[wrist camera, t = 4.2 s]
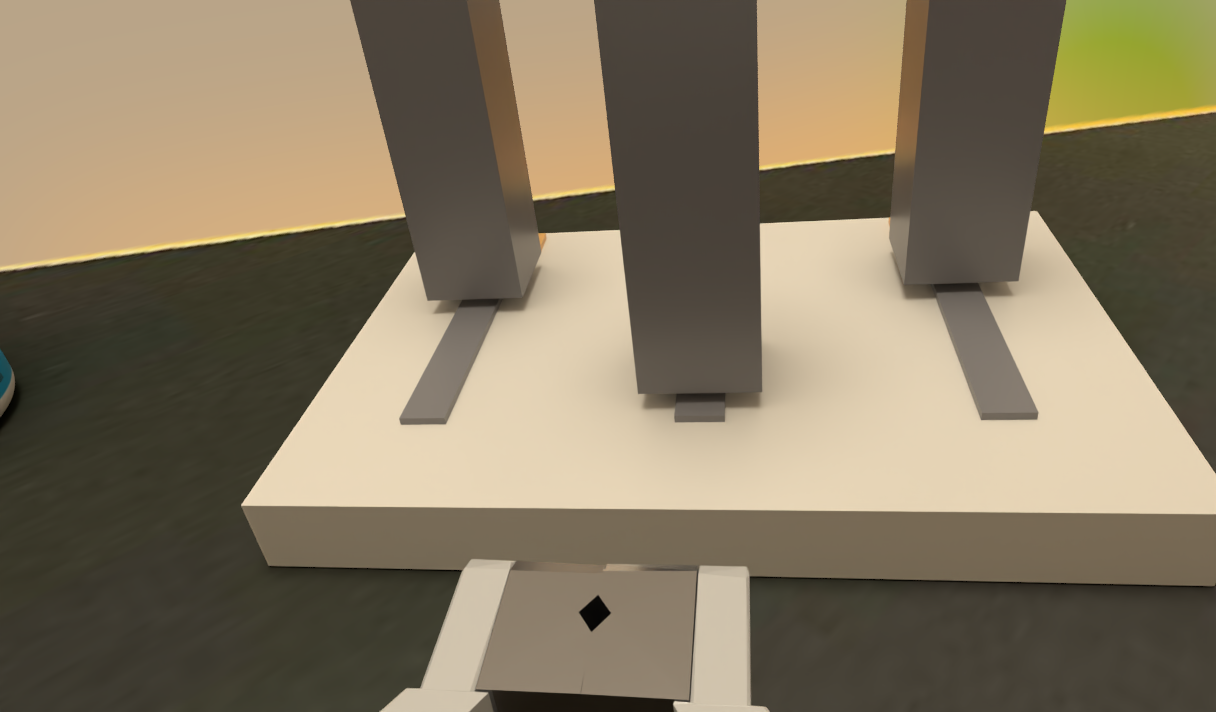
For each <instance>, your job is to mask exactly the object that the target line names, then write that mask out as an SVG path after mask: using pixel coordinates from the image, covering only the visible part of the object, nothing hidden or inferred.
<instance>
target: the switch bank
mask: <svg viewBox="0 0 1216 712" xmlns="http://www.w3.org/2000/svg"><path fill="white" fill-rule="evenodd" d="M889 230H890V217H889V218H874V219H852V220H830V221H808V222H786V223H764V224H760V267H761V336H762V392H753V393H679V394H638V389H637V380H636V371H635V362H634V353H633V344H632V335H631V326H630V318H629V309H628V300H627V291H626V282H625V273H624V264H623V255H622V246H621V237H620V230H611V231H589V232H567V233H538V235H539V241H540V247H541V255H540V257H539V259H538V262H537V264H536V267H535V269H534V271H533V274H532V276H531V278H530V281H529V283H528V286H527V288H526V290H525V293H524V295H523V298H498V299H467V300H437V301H427V297H426V293H425V289H424V285H423V281H422V277H421V273H420V270H419V266H418V262H417V258H416V254H415V252H414V254H413V255H412V257H411V258H410V260H409V261H408V263H407V264H406V265H405V267H404V268H403V270H402V271H401V273H400V274H399V276H398V277H397V279H396V280H395V282H394V283H393V284H392V286H391V287H390V289H389V290H388V292H387V293H386V295H385V296H384V298H383V299H382V300H381V302H380V303H379V305H378V306H377V308H376V309H375V311H374V312H373V314H372V315H371V317H370V318H369V319H368V321H367V322H366V324H365V325H364V327H363V328H362V330H361V331H360V333H359V334H358V335H357V337H356V338H355V340H354V341H353V343H352V344H351V346H350V347H349V349H348V350H347V352H346V353H345V354H344V356H343V357H342V359H341V360H340V362H339V363H338V365H337V366H336V368H335V369H334V371H333V372H332V373H331V375H330V376H329V378H328V379H327V381H326V382H325V384H324V385H323V387H322V388H321V389H320V391H319V392H318V394H317V395H316V397H315V398H314V400H313V401H312V403H311V404H310V406H309V407H308V408H307V410H306V411H305V413H304V414H303V416H302V417H301V419H300V420H299V422H298V423H297V424H296V426H295V427H294V429H293V430H292V432H291V433H290V435H289V436H288V438H287V439H286V441H285V442H284V443H283V445H282V446H281V448H280V449H279V451H278V452H277V454H276V455H275V457H274V458H273V460H272V461H271V462H270V464H269V465H268V467H267V468H266V470H265V471H264V473H263V474H262V476H261V477H260V478H259V480H258V481H257V483H256V484H255V486H254V487H253V489H252V490H251V492H250V493H249V495H248V496H247V497H246V499H245V500H244V502H243V503H242V505H241V507H242V509H243V511H244V513H245V516H246V518H247V520H248V522H249V524H250V526H251V529H252V531H253V533H254V535H255V537H256V539H257V542H258V544H259V546H260V548H261V550H262V552H263V555H264V557H265V559H266V561H267V563H268V565H269V566H297V567H344V568H390V569H437V570H463V569H464V568H465V567H466V566H467V564H468V563H469V562H470V560H471V559H482V560H503V561H536V562H556V563H575V564H595V565H607V564H646V565H699V568H700V566H745V567H748V570H749V576H764V577H811V578H858V579H904V580H951V581H998V582H1044V583H1091V584H1138V585H1185V586H1215V584H1216V474H1215V472H1214V471H1213V470H1212V468H1211V467H1210V465H1209V464H1208V462H1207V461H1206V459H1205V458H1204V456H1203V455H1202V453H1201V452H1200V450H1199V449H1198V447H1197V446H1196V445H1195V443H1194V442H1193V440H1192V439H1191V437H1190V436H1189V434H1188V433H1187V431H1186V430H1185V428H1184V427H1183V425H1182V424H1181V422H1180V421H1179V419H1178V418H1177V417H1176V415H1175V414H1174V412H1173V411H1172V409H1171V408H1170V406H1169V405H1168V403H1167V402H1166V400H1165V399H1164V397H1163V396H1162V394H1161V393H1160V392H1159V390H1158V389H1157V387H1156V386H1155V384H1154V383H1153V381H1152V380H1151V378H1150V377H1149V375H1148V374H1147V372H1146V371H1145V369H1144V368H1143V367H1142V365H1141V364H1140V362H1139V361H1138V359H1137V358H1136V356H1135V355H1134V353H1133V352H1132V350H1131V349H1130V347H1129V346H1128V344H1127V343H1126V342H1125V340H1124V339H1123V337H1122V336H1121V334H1120V333H1119V331H1118V330H1117V328H1116V327H1115V325H1114V324H1113V322H1112V321H1111V319H1110V318H1109V317H1108V315H1107V314H1106V312H1105V311H1104V309H1103V308H1102V306H1101V305H1100V303H1099V302H1098V300H1097V299H1096V297H1095V296H1094V294H1093V293H1092V292H1091V290H1090V289H1089V287H1088V286H1087V284H1086V283H1085V281H1084V280H1083V278H1082V277H1081V275H1080V274H1079V272H1078V271H1077V269H1076V268H1075V267H1074V265H1073V264H1072V262H1071V261H1070V259H1069V258H1068V256H1067V255H1066V253H1065V252H1064V250H1063V249H1062V247H1061V246H1060V244H1059V243H1058V242H1057V240H1056V239H1055V237H1054V236H1053V234H1052V233H1051V231H1050V230H1049V228H1048V227H1047V225H1046V224H1045V222H1044V221H1043V219H1042V218H1041V217H1040V215H1039V214H1038V212H1037V211H1030V216H1029V222H1028V228H1027V234H1026V240H1025V246H1024V252H1023V257H1022V263H1021V269H1020V275H1019V281H1012V282H982V283H951V284H921V285H904V283H903V280H902V277H901V274H900V271H899V268H898V265H897V261H896V258H895V255H894V252H893V249H892V246H891V243H890V240H889Z"/></svg>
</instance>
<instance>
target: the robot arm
mask: <svg viewBox="0 0 1216 712" xmlns="http://www.w3.org/2000/svg"><path fill="white" fill-rule="evenodd" d="M380 712H769V710H768V709H767V707H762V706H751V645H750V583H749V570H748V567H745V566H700V568H699V565H646V564H607V565H595V564H575V563H556V562H536V561H503V560H482V559H471V560H470V562H469V563H468V564H467V566H466V567H465V568H464V569H463V571H462V573H461V576H460V579H459V581H458V584H457V587H456V590H455V592H454V595H453V598H452V601H451V604H450V606H449V609H448V612H447V615H446V618H445V620H444V623H443V626H442V629H441V632H440V634H439V637H438V640H437V643H436V646H435V648H434V651H433V654H432V657H431V660H430V662H429V665H428V668H427V671H426V674H425V676H424V679H423V682H422V685H421V687H420V688H406V689H405V690H404V691H403V692H402V693H400V694H399V695H398V696H397V697H396V698H395V699H394V700H392V701H391V702H390V703H389V704H388V705H387V706H386V707H385V708H383V709H382V710H381V711H380Z"/></svg>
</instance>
